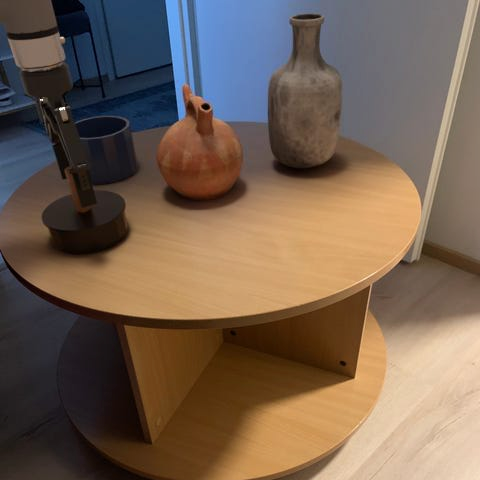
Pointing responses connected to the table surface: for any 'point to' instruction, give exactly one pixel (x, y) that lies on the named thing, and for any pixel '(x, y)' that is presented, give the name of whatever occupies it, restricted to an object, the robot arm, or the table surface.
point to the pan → (91, 238)
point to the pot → (108, 148)
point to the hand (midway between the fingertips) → (78, 190)
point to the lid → (82, 210)
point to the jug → (199, 152)
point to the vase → (304, 100)
